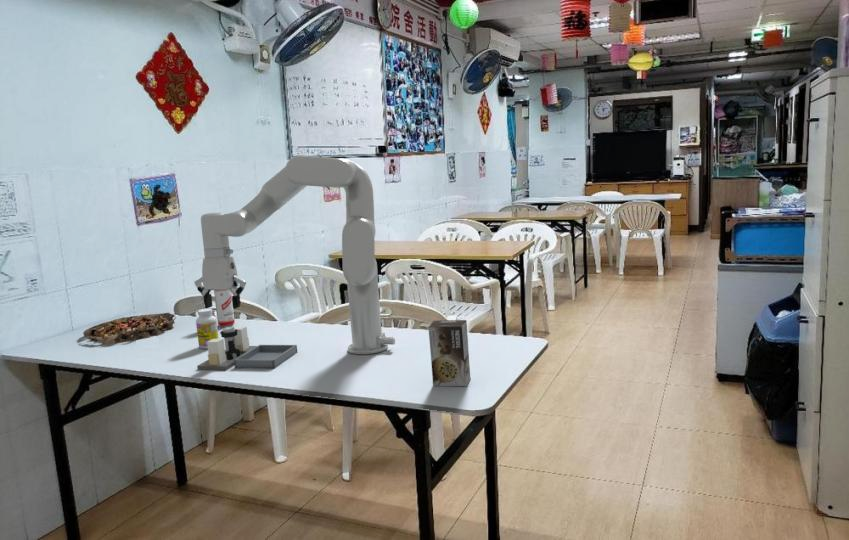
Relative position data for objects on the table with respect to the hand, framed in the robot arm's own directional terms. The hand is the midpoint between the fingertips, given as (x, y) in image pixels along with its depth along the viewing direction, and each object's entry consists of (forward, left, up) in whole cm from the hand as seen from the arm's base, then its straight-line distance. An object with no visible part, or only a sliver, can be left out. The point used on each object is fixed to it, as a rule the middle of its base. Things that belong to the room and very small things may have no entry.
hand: (222, 307), depth 203 cm
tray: (-13, 0, -17) cm, 22 cm away
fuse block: (0, 0, -17) cm, 17 cm away
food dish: (+61, -33, -17) cm, 71 cm away
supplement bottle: (+16, -14, -17) cm, 27 cm away
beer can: (+26, -42, -17) cm, 52 cm away
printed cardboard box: (-75, +17, -17) cm, 79 cm away
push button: (0, 0, -17) cm, 17 cm away
